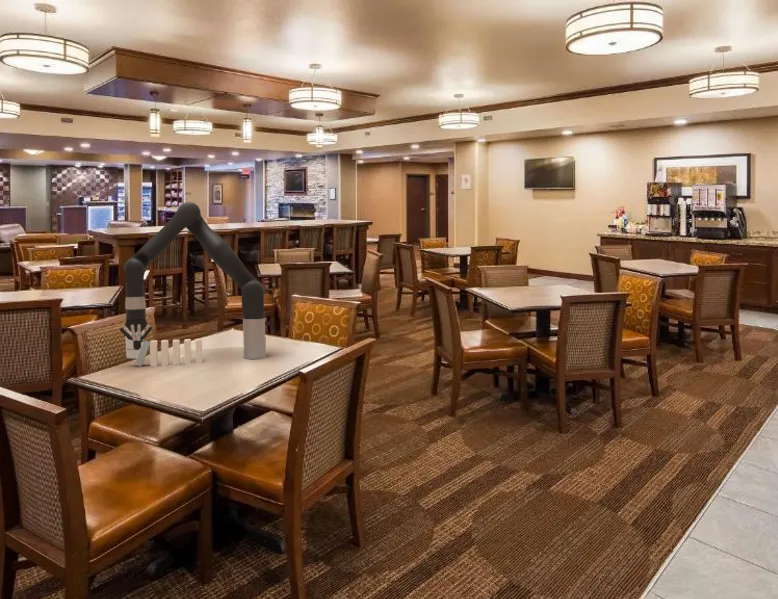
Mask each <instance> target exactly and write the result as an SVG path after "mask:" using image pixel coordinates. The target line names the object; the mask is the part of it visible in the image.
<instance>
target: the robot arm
mask: <svg viewBox="0 0 778 599" xmlns="http://www.w3.org/2000/svg"><path fill="white" fill-rule="evenodd" d="M184 229H186V230H188V231H189V232H190V233H191V234H192V235H193V236H194V238H196V240H197V241H198V242H199V244H200V245H201V247H202V248H203V250H204V251H205V252H206V254H208V256H209V257H210V258H211V260H212V261H213V262H214V263H215V264H216V266H218V268H220V270H221V271H223V273H225V274H226V275H228V276H229V277H230V278H231V279H232V280H233V281H234V282H235V283H236V285H237V286H238V288H239V289H240V290H241V312H242V330H243V331H242V336H243V337H242V339H243V341H242V342H243V358H244V359H246V360H260V359H265V358H267V348H266V345H267V344H266V343H267V342H266V322H265V320H266V316H265V315H266V312H265V300H264V299H265V293H266V290H265V287H264V285H263V284H262V283H261V282H260V281H259V280H258V279H257V278H256V277H255V276H254V275H253V274H252V273H251V272H250V271H249V270H248V268H247V267H245V265H244V263H243V261H241V259H240V257H239V256H238V255H237V254H236V252H235V251H234V250H233V249H232V247H231V246H230V245H229V244H228V242H226V240H224V239H223V238H222V237H221V236H220V235H219V234H218V233H216V232H215V231H214V230H213V229H212V228H211V227H210V226H209V225H208V223H207V222H206V221H205V219H204V218H203V216H202V214H201V209H200V207H199V205H198V204H196V203H194V202H193V201H186V202H183V203H182V204H180V205H179V207H178V209H177V210H176V212H174V214H173V215H172V217H170V220H168V221H167V223H166V224H165V225H163V227H162V228H161V229H160V230H158V232H157V233H155V235H153V236H152V237H151V238H150V239H149V240H148V241H147V242H146V243H145V244H144V245H143V246H142V247H141V248H140V249H139V250H138V251H137V252H136V253H134V254H133V255H132V256H131V257H130V258H128V260H126V262H125V263H124V265H123V268H124V273H125V302H124V304H125V305H124V306H125V323H124V326H122V327H120V328H119V331H120V332H121V333H122V334H123V335H124V336H126V337H127V338H128V339H129V340H132V341H133V348H134V349H135V350H139V349H140V348H141V340H142V339H145V340H146V338H147V336H148V335H149V334H150V332H151V331H152V330H153V328H154V326H151V325H149V324H148V320H147V313H146V309H147V308H146V298H145V286H144V285H145V284H144V280H145V279H144V278H145V269H146V268H147V267H148V266H149V264H151V263H152V262H154V261H155V260H157V258H159V257H160V256H161V255H162V253H164V252H165V250H166V249H168V247H169V246H170V245H171V244H172V242H173V241H174V239H175V238H177V236H178V235H179V234H180V233H181V232H183V230H184ZM126 328H128V329H129V331H130V332H132V336H131V335H130V334H129V333H128V332H127V329H126ZM145 329H146V332H145ZM143 330H144V333H145V334H144V335H143V336H141V332H142V331H143ZM136 332H137V337H136Z"/></svg>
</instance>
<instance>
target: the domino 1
mask: <svg viewBox="0 0 778 599" xmlns="http://www.w3.org/2000/svg"><path fill="white" fill-rule="evenodd" d="M149 350H150V341H148V340H146V339H145V341H144V343H143V346H142V348H141V351H140V353H139V356H138V358H137V359H136V362H135V364H134V365H135V366H137V367H140V368H141V367H142V366H143V364H144V362H145V359H146V357H147V353H148V351H149Z"/></svg>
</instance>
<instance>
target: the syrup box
mask: <svg viewBox="0 0 778 599" xmlns="http://www.w3.org/2000/svg"><path fill="white" fill-rule="evenodd" d="M126 329H127V332H128V333H129V334H130V335H131V336H132V332H130V331H129V329H128V328H127V327H126ZM144 334H145V329H144V330H143V331H142V332H141V336H143V335H144ZM124 336H125V335H124ZM136 337H137V332H136ZM124 338H125V353H126V359H136V360H137V358H138V356H139V353H140V351H141V348H142V346H143V343H144V341H145V340H146V338H145V339H142V340H141V348H140V349H139V350H135V349H134V348H133V341H132V340H129V339H128V338H127V337H126V336H125V337H124Z"/></svg>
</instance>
